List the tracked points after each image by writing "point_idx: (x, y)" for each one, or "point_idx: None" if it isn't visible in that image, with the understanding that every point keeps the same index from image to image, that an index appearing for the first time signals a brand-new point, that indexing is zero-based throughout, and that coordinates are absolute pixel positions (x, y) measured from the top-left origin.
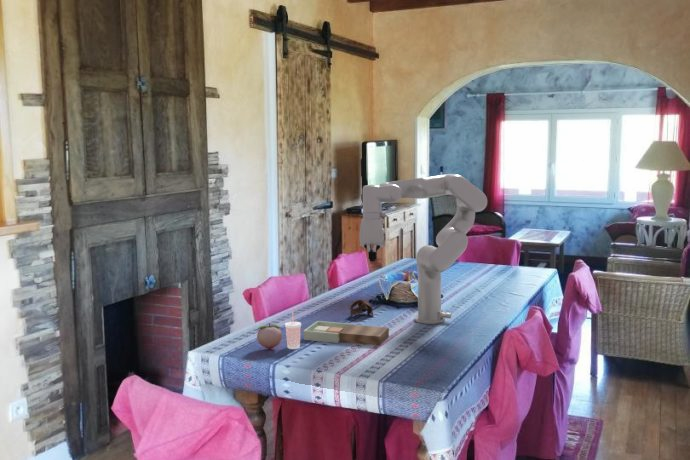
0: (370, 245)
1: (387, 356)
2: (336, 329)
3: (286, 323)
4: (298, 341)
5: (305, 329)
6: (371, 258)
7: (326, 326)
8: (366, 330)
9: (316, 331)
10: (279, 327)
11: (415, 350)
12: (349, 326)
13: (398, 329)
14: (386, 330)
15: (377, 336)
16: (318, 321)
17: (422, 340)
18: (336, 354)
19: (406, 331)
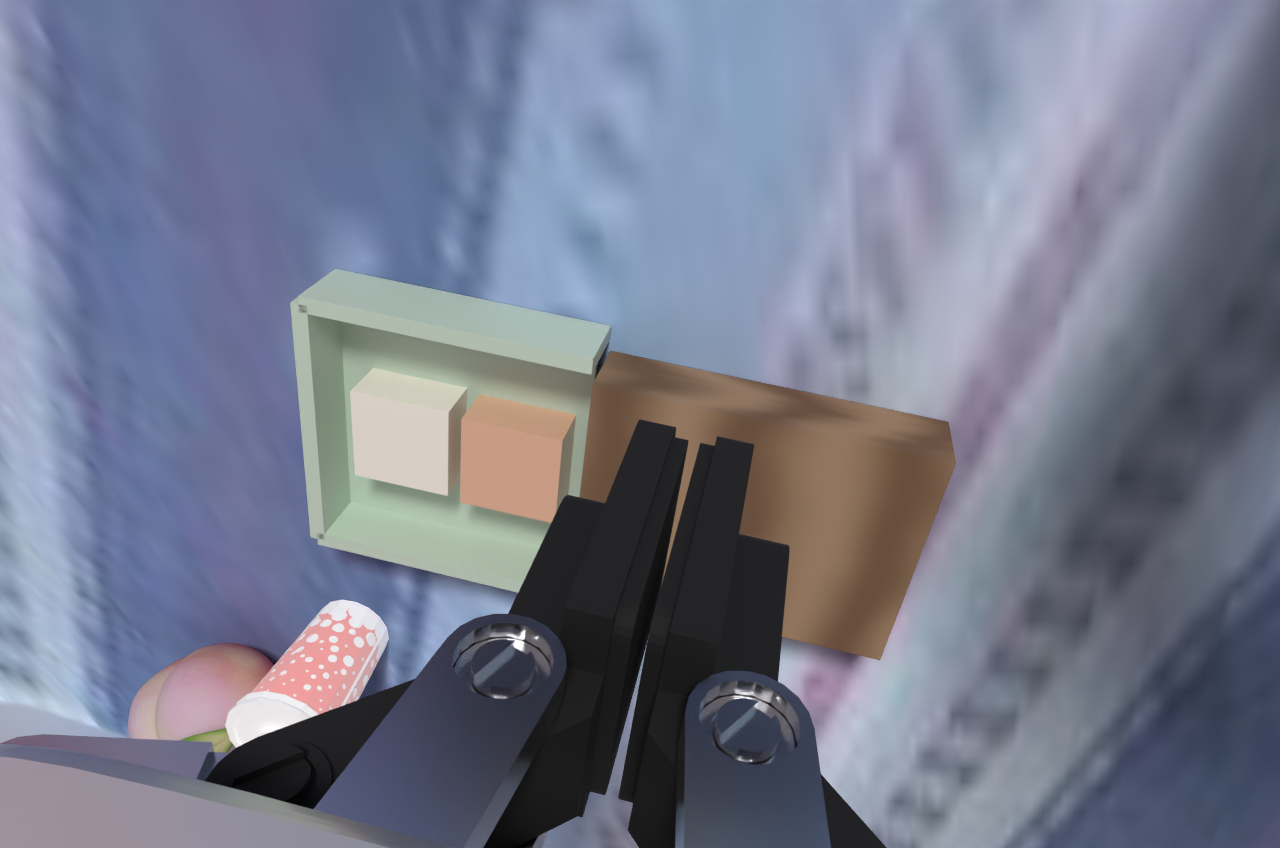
0: (442, 840)
1: (931, 770)
2: (518, 478)
3: (233, 729)
4: (370, 675)
5: (312, 514)
6: (646, 639)
7: (417, 408)
8: (763, 532)
9: (404, 555)
10: (226, 752)
11: (1136, 694)
12: (604, 438)
13: (1057, 202)
14: (933, 516)
15: (862, 655)
16: (307, 312)
17: (1245, 503)
18: (627, 730)
19: (1136, 262)
